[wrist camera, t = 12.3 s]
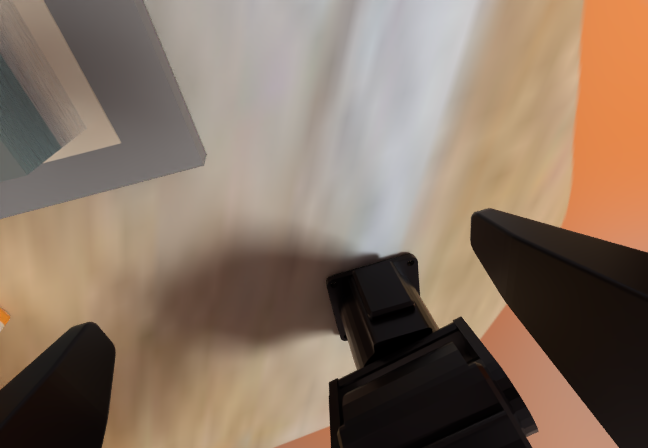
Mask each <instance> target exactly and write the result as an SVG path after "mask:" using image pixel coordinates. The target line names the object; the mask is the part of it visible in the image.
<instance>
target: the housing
mask: <svg viewBox="0 0 648 448" xmlns="http://www.w3.org/2000/svg"><path fill="white" fill-rule="evenodd" d="M86 129H87V127H86V126H85V124H84V122H83V120H82V119H81V117H80V115H79V114H78V112H77V110H76V108H75V107H74V105H73V103H72V102H71V100H70V98H69V97H68V95H67V93H66V91H65V90H64V88H63V86H62V85H61V83H60V81H59V79H58V78H57V76H56V74H55V73H54V71H53V69H52V68H51V66H50V64H49V62H48V61H47V59H46V57H45V56H44V54H43V52H42V50H41V49H40V47H39V45H38V44H37V42H36V40H35V39H34V37H33V35H32V33H31V32H30V30H29V28H28V27H27V25H26V23H25V21H24V20H23V18H22V16H21V15H20V13H19V11H18V10H17V8H16V6H15V4H14V3H13V1H12V0H0V182H3V181H7V180H11V179H14V178H18V177H22V176H26V175H28V174H29V173H30V172H32V171H33V170H34V169H36V168H37V167H38V166H39V165H41V164H42V163H43V162H45V161H46V160H47V159H48V158H50V157H51V156H52V155H54V154H55V153H56V152H57V151H59V150H60V149H61V148H63V147H64V146H65V145H66V144H68V143H69V142H70V141H71V140H73V139H74V138H75V137H77V136H78V135H79V134H80V133H82V132H83V131H84V130H86Z"/></svg>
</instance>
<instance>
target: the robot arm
mask: <svg viewBox="0 0 648 448" xmlns="http://www.w3.org/2000/svg"><path fill="white" fill-rule="evenodd" d="M470 241H471V246H472V248H473V250H474V252H475V254H476V255H477V257H478V259H479V260H480V262H481V263H482V265H483V267H484V268H485V270H486V272H487V273H488V275H489V277H490V278H491V280H492V281H493V283H494V285H495V286H496V288H497V290H498V291H499V293H500V294H501V296H502V297H503V299H504V300H505V302H506V303H507V304H508V306H509V307H510V308H511V310H512V311H513V312H514V314H515V315H516V316H517V318H518V319H519V320H520V321H521V323H522V324H523V325H524V326H525V328H526V329H527V330H528V332H529V333H530V334H531V335H532V337H533V338H534V339H535V341H536V342H537V343H538V344H539V346H540V347H541V348H542V350H543V351H544V352H545V353H546V355H547V356H548V357H549V359H550V360H551V361H552V362H553V364H554V365H555V366H556V367H557V369H558V370H559V371H560V373H561V374H562V375H563V376H564V378H565V379H566V380H567V382H568V383H569V384H570V385H571V387H572V388H573V389H574V391H575V392H576V393H577V394H578V396H579V397H580V398H581V400H582V401H583V402H584V403H585V404H586V406H587V407H588V409H589V410H590V411H591V412H592V413H593V415H594V416H595V417H596V419H597V420H598V421H599V423H600V424H601V425H602V426H603V428H604V429H605V430H606V432H607V433H608V434H609V435H610V437H611V438H612V439H613V440H614V442H615V443H616V444H617V446H618V447H619V448H648V253H647V252H644V251H640V250H637V249H633V248H630V247H626V246H623V245H619V244H615V243H611V242H608V241H604V240H601V239H598V238H594V237H590V236H587V235H584V234H580V233H576V232H573V231H569V230H566V229H562V228H559V227H555V226H552V225H548V224H545V223H541V222H538V221H534V220H531V219H527V218H523V217H520V216H516V215H513V214H509V213H506V212H502V211H499V210H495V209H491V208H488V209H484V210H481V211H477V212H474V213H473V214H472V217H471V236H470ZM410 260H411V262H409V261H410ZM333 282H336V283H334V284H331V283H333ZM326 286H327V289H328V293H329V297H330V301H331V304H332V308H333V312H334V315H335V319H336V323H337V327H338V330H339V334H340V338H341V340H343V341H348V342H349V345H350V349H351V352H352V355H353V359H354V362H355V365H356V368H357V370H356V371H354V372H352V373H350V374H348V375H346V376H344V377H342V378H340V379H338V378H337V379H335V380H333V381H331V382H329V412H330V434H331V448H532V447H531V445H530V443H529V441H528V440H527V438H526V437H528V436H530V435H532V434H534V433H537V432H538V428H537V426H536V424H535V421H534V419H533V418H532V416H531V414H530V412H529V410H528V409H527V407H526V405H525V403H524V402H523V400H522V398H521V397H520V395H519V393H518V392H517V390H516V389H515V387H514V386H513V384H512V383H511V381H510V380H509V378H508V377H507V375H506V374H505V372H504V371H503V369H502V368H501V367H500V365H499V364H498V363H497V361H496V360H495V359H494V358H493V356H492V355H491V354H490V352H489V351H488V350H487V349H486V347H485V346H484V345H483V343H482V342H481V341H480V340H479V338H478V337H477V336H476V335H475V333H474V332H473V331H472V329H471V328H470V327H469V326H468V324H467V323H466V322H465V321H464V319H463V318H462V317H459V318H457V319H455V320H453V322H452V323H450V324H448V325H446V326H444V327H442V328H440V329H439V328H438V326H437V324H436V323H435V321H434V319H433V318H432V316H431V314H430V313H429V311H428V309H427V308H426V306H425V304H424V303H423V301H422V299H421V297H420V289H419V274H418V261H417V259H416V257H415V256H414V255H413V254H407V255H403V256H400V257H396V258H393V259H389V260H386V261H382V262H379V263H375V264H372V265H368V266H365V267H361V268H358V269H354V270H351V271H347V272H343V273H340V274H336V275H333V276H330V277H328V278H327V280H326ZM115 353H116V352H115V347H114V345H113V343H112V341H111V340H110V339H109V338H108V337H107V336H106V334H105V333H104V332H103V331H102V330H101V329H100V327H99V326H98V325H97V324H96V323H94V322H87V323H83V324H80V325H76V326H74V327H72V328H70V329H69V330H68V331H67V332H66V333H64V334H63V335H62V336H61V337H60V338H59V339H58V340H56V341H55V342H54V343H53V344H52V345H51V346H50V347H49V348H47V349H46V350H45V351H44V352H43V353H42V354H41V355H40V356H38V357H37V358H36V359H35V360H34V361H33V362H32V363H30V364H29V365H28V366H27V367H26V368H25V369H24V370H23V371H21V372H20V373H19V374H18V375H17V376H16V377H15V378H14V379H12V380H11V381H10V382H9V383H8V384H7V385H6V386H4V387H3V388H2V389H1V390H0V448H102V444H103V439H104V435H105V430H106V425H107V420H108V414H109V407H110V398H111V389H112V381H113V372H114V363H115Z"/></svg>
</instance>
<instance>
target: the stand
mask: <svg viewBox="0 0 648 448" xmlns="http://www.w3.org/2000/svg"><path fill="white" fill-rule="evenodd" d="M12 1H13V3H14V4H15V6H16V8H17V10H18V11H19V13H20V15H21V16H22V18H23V20H24V21H25V23H26V25H27V27H28V28H29V30H30V32H31V33H32V35H33V37H34V39H35V40H36V42H37V44H38V45H39V47H40V49H41V50H42V52H43V54H44V56H45V57H46V59H47V61H48V62H49V64H50V66H51V68H52V69H53V71H54V73H55V74H56V76H57V78H58V79H59V81H60V83H61V85H62V86H63V88H64V90H65V91H66V93H67V95H68V97H69V98H70V100H71V102H72V103H73V105H74V107H75V108H76V110H77V112H78V114H79V115H80V117H81V119H82V120H83V122H84V124H85V126H86V127H87V129H86V130H84V131H83V132H82V133H80V134H79V135H78V136H77V137H75V138H74V139H73V140H71V141H70V142H69V143H68V144H66V145H65V146H64V147H63V148H61V149H60V150H59V151H57V152H56V153H55V154H54V155H52V156H51V157H50V158H48V159H47V160H46V161H45V162H43V163H42V164H41V165H39V166H38V167H37V168H36V169H34V170H33V171H32V172H30V173H29V174H28V175H26V176H22V177H18V178H14V179H11V180H7V181H3V182H0V219H2V218H6V217H10V216H14V215H17V214H21V213H25V212H29V211H33V210H36V209H40V208H44V207H48V206H52V205H55V204H59V203H63V202H67V201H71V200H74V199H78V198H82V197H86V196H90V195H93V194H97V193H101V192H105V191H109V190H112V189H116V188H120V187H124V186H128V185H132V184H135V183H139V182H143V181H147V180H151V179H154V178H158V177H162V176H166V175H170V174H173V173H177V172H181V171H185V170H189V169H192V168H196V167H200V166H204V163H205V159H206V155H207V154H206V152H205V149H204V147H203V144H202V142H201V140H200V137H199V135H198V132H197V130H196V127H195V125H194V123H193V120H192V118H191V115H190V113H189V110H188V108H187V106H186V103H185V101H184V98H183V96H182V94H181V91H180V89H179V86H178V84H177V81H176V79H175V77H174V74H173V72H172V69H171V67H170V64H169V62H168V60H167V57H166V55H165V52H164V50H163V47H162V45H161V43H160V40H159V38H158V35H157V33H156V30H155V28H154V26H153V23H152V21H151V18H150V16H149V13H148V11H147V9H146V6H145V4H144V1H143V0H12Z"/></svg>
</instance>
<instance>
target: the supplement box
mask: <svg viewBox="0 0 648 448" xmlns="http://www.w3.org/2000/svg"><path fill="white" fill-rule="evenodd" d="M9 319H10V316H9V315H8V313H7V312H6V311H4V310H3V309H2V308H1V307H0V331H1V330H2V328H3V327H4V326H5V325H6V323H7V322H8V320H9Z"/></svg>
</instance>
